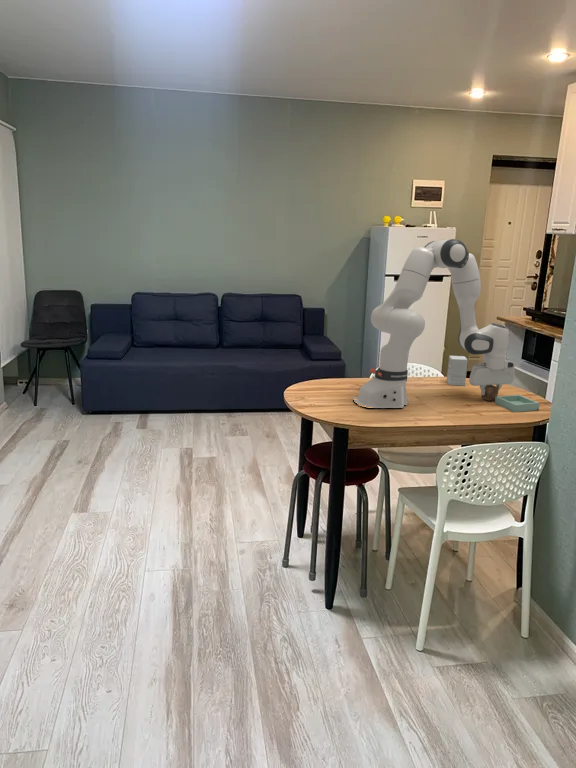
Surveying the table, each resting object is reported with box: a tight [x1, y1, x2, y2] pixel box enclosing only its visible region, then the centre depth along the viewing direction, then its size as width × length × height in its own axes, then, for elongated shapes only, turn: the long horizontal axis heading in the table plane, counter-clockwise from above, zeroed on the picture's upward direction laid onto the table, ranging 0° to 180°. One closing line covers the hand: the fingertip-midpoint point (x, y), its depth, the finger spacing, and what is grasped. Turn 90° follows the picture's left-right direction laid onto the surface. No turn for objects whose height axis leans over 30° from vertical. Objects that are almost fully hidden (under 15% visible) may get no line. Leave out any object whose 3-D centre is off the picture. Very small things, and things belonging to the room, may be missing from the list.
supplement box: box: [446, 355, 469, 387], centre depth 268 cm, size 7×7×13 cm
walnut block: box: [481, 385, 499, 402], centre depth 245 cm, size 4×4×6 cm
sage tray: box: [494, 394, 541, 413], centre depth 237 cm, size 12×12×3 cm
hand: (489, 394), depth 245 cm, fingers closed on walnut block, 4 cm apart
